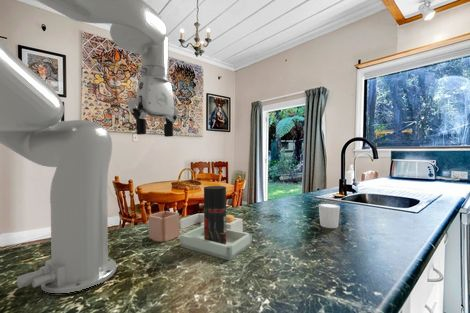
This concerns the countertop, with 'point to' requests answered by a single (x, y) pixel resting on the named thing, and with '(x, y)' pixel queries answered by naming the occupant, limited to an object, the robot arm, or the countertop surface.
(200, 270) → the countertop surface
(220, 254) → the trough
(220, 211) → the deodorant
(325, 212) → the white tapered cylinder
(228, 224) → the white recessed tray
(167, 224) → the cup
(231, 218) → the button
